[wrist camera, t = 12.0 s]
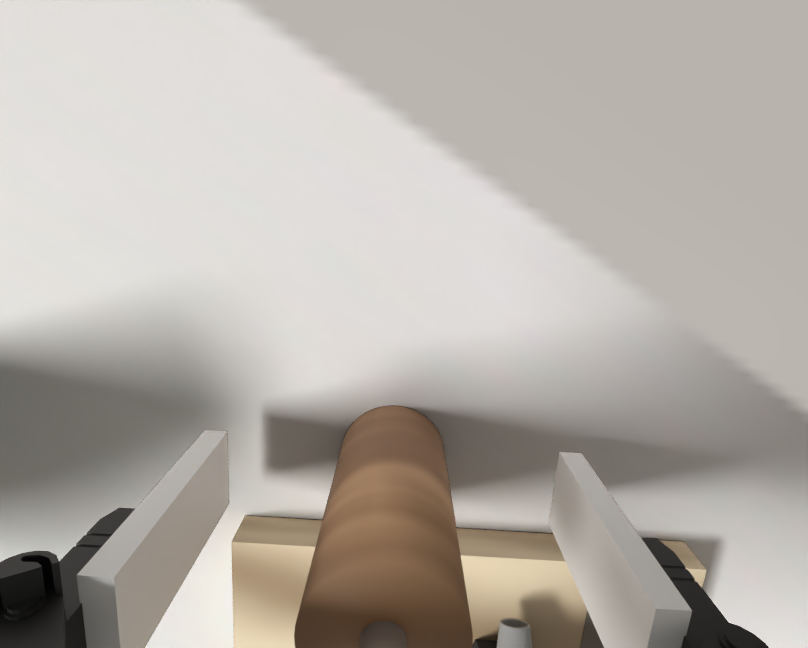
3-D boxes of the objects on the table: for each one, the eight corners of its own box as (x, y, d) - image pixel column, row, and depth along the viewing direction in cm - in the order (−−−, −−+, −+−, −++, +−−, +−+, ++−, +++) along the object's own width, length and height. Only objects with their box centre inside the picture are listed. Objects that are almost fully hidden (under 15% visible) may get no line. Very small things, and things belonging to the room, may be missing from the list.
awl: (343, 402, 18) (250, 705, 7) (448, 408, 18) (513, 720, 7) (339, 495, 19) (251, 889, 8) (439, 501, 19) (485, 901, 8)
